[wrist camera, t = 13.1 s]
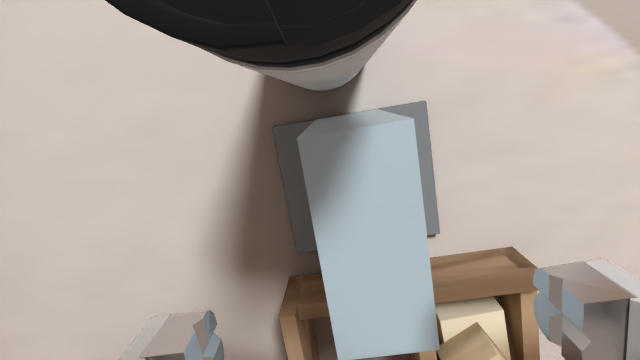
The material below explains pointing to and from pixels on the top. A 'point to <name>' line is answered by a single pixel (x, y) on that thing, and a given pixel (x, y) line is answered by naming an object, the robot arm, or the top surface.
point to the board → (371, 233)
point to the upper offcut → (470, 346)
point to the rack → (448, 285)
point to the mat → (296, 183)
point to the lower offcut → (473, 320)
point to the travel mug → (279, 33)
